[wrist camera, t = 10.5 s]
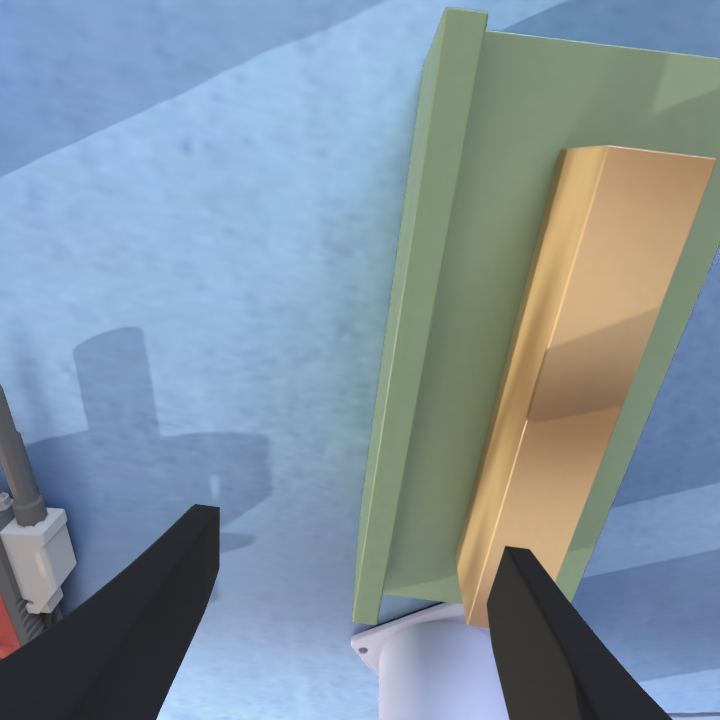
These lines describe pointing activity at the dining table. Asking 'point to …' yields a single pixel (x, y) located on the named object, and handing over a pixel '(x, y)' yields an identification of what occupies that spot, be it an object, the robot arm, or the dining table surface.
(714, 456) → the dining table surface
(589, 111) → the shelf
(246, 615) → the dining table surface
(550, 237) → the stick
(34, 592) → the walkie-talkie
